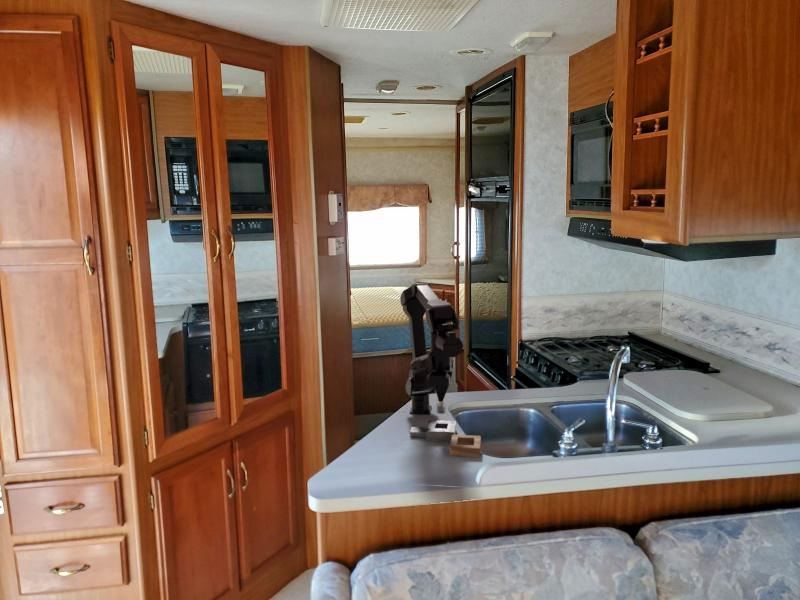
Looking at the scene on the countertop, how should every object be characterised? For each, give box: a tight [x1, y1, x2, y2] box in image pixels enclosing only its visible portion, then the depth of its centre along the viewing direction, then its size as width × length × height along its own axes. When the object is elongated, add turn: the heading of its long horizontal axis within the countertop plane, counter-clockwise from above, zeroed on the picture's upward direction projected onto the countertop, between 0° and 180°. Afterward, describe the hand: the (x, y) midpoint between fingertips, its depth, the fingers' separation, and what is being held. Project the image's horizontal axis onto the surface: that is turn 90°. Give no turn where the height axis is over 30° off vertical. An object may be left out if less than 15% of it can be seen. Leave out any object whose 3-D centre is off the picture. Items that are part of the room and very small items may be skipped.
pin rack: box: [449, 434, 482, 458], centre depth 168 cm, size 8×8×2 cm
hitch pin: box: [436, 394, 447, 415], centre depth 175 cm, size 3×3×9 cm
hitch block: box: [409, 419, 457, 443], centre depth 177 cm, size 8×13×3 cm, turn 81°
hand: (441, 399), depth 175 cm, fingers closed on hitch pin, 3 cm apart
